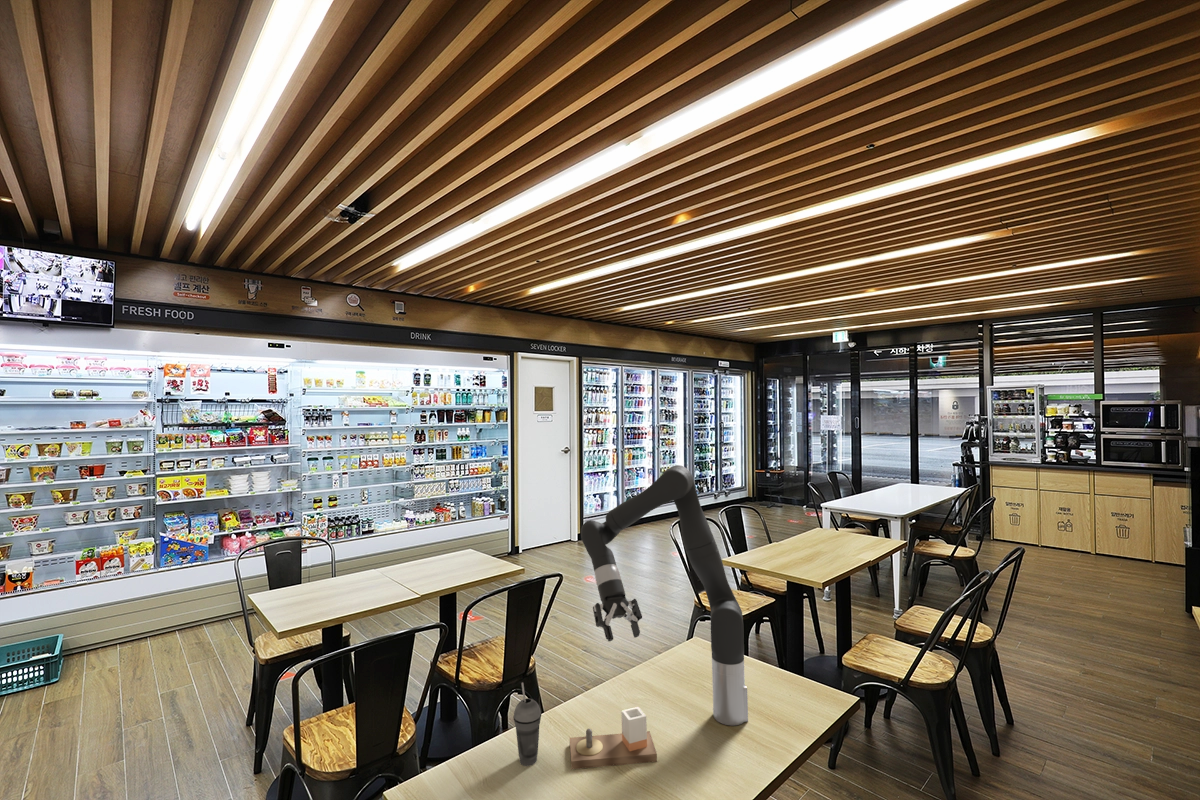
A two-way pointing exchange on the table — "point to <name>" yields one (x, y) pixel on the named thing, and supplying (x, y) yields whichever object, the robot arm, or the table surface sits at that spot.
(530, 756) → the beverage cup
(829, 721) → the table surface
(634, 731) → the sleeve
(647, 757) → the pin board
